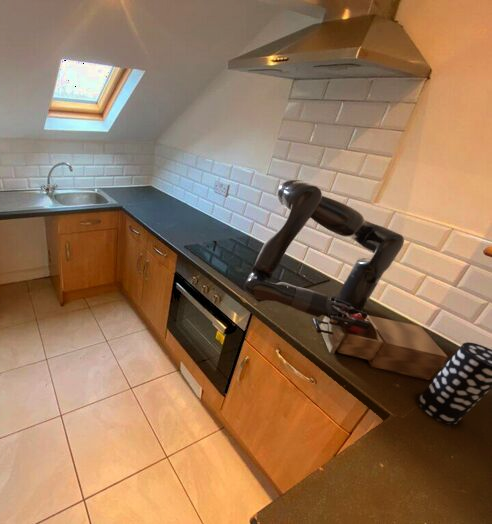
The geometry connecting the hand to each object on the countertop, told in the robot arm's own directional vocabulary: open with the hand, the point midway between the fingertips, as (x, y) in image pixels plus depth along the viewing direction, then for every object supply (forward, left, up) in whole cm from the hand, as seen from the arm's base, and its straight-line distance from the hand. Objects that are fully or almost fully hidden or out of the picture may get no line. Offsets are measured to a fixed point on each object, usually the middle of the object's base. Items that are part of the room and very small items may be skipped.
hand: (366, 321), depth 92 cm
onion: (-1, -3, -6) cm, 7 cm away
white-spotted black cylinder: (+17, +16, -12) cm, 26 cm away
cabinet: (-1, +12, -12) cm, 16 cm away
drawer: (-1, -3, -11) cm, 11 cm away
